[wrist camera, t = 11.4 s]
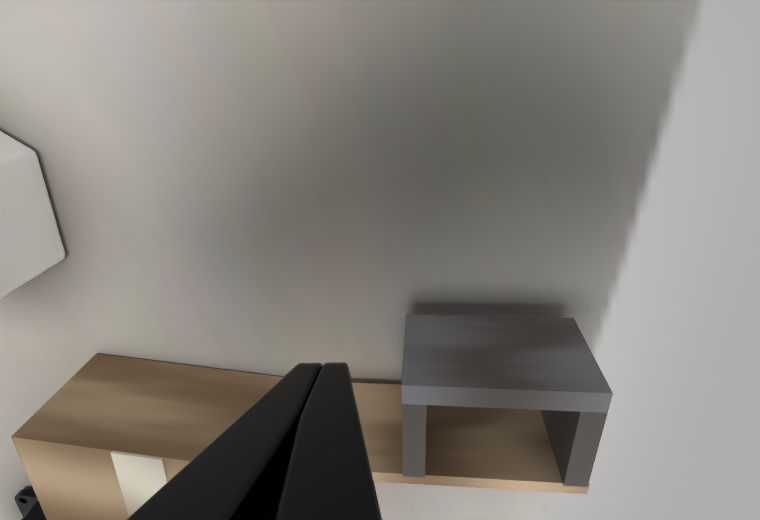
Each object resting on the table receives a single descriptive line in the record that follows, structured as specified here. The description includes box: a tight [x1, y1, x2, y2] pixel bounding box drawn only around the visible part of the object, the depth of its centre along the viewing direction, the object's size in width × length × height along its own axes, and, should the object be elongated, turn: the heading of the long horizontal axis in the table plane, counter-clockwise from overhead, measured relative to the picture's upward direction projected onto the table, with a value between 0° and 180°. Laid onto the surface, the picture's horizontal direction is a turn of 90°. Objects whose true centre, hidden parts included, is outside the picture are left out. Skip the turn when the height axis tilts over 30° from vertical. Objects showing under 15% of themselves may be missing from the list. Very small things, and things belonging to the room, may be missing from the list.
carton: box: [11, 354, 283, 520], centre depth 22 cm, size 11×10×5 cm
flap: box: [352, 314, 613, 494], centre depth 17 cm, size 11×5×5 cm, turn 92°
